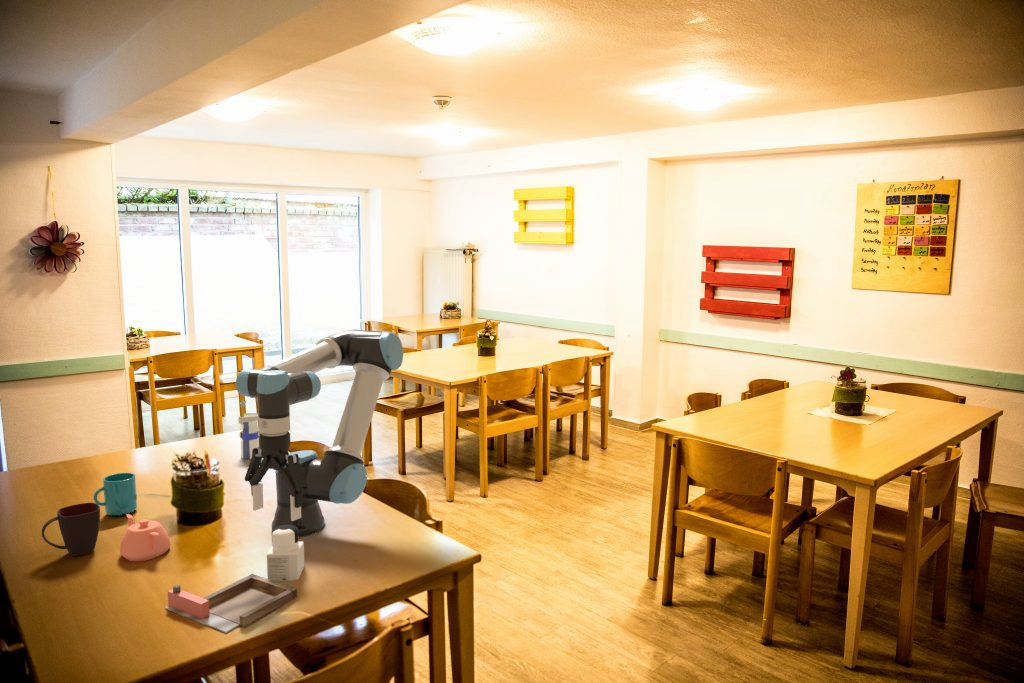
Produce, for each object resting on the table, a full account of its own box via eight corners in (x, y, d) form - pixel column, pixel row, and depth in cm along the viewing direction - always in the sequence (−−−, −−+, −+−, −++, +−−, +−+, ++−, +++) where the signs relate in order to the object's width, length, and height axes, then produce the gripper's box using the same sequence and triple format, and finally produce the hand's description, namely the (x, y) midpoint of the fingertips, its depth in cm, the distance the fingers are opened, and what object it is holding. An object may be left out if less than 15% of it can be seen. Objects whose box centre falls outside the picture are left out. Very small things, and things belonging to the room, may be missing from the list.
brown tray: (165, 608, 165) (164, 598, 165) (233, 576, 182) (232, 567, 181) (231, 635, 154) (230, 624, 154) (297, 598, 171) (296, 588, 170)
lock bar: (168, 605, 166) (167, 586, 165) (176, 601, 168) (174, 582, 167) (201, 618, 160) (201, 599, 160) (209, 614, 162) (208, 595, 161)
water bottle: (234, 465, 272) (232, 402, 269) (246, 459, 281) (244, 397, 278) (254, 467, 271) (252, 403, 268) (266, 460, 280) (263, 398, 276)
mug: (106, 552, 195) (103, 510, 194) (46, 566, 186) (43, 522, 185) (98, 540, 203) (95, 500, 201) (40, 553, 194) (37, 512, 192)
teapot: (136, 569, 185) (134, 535, 184) (107, 550, 196) (105, 518, 195) (182, 554, 195) (180, 521, 193) (151, 537, 206) (149, 505, 204)
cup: (91, 512, 224) (89, 478, 222) (133, 503, 232) (131, 470, 230) (98, 521, 217) (95, 485, 216) (140, 511, 225) (138, 477, 224)
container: (274, 569, 186) (273, 522, 184) (304, 568, 187) (303, 521, 185) (267, 583, 178) (265, 534, 177) (298, 582, 179) (297, 533, 177)
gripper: (228, 429, 180) (231, 509, 183) (299, 443, 168) (301, 528, 171) (252, 423, 187) (254, 500, 189) (322, 436, 175) (323, 518, 177)
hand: (276, 514), depth 180 cm, fingers open, 13 cm apart
